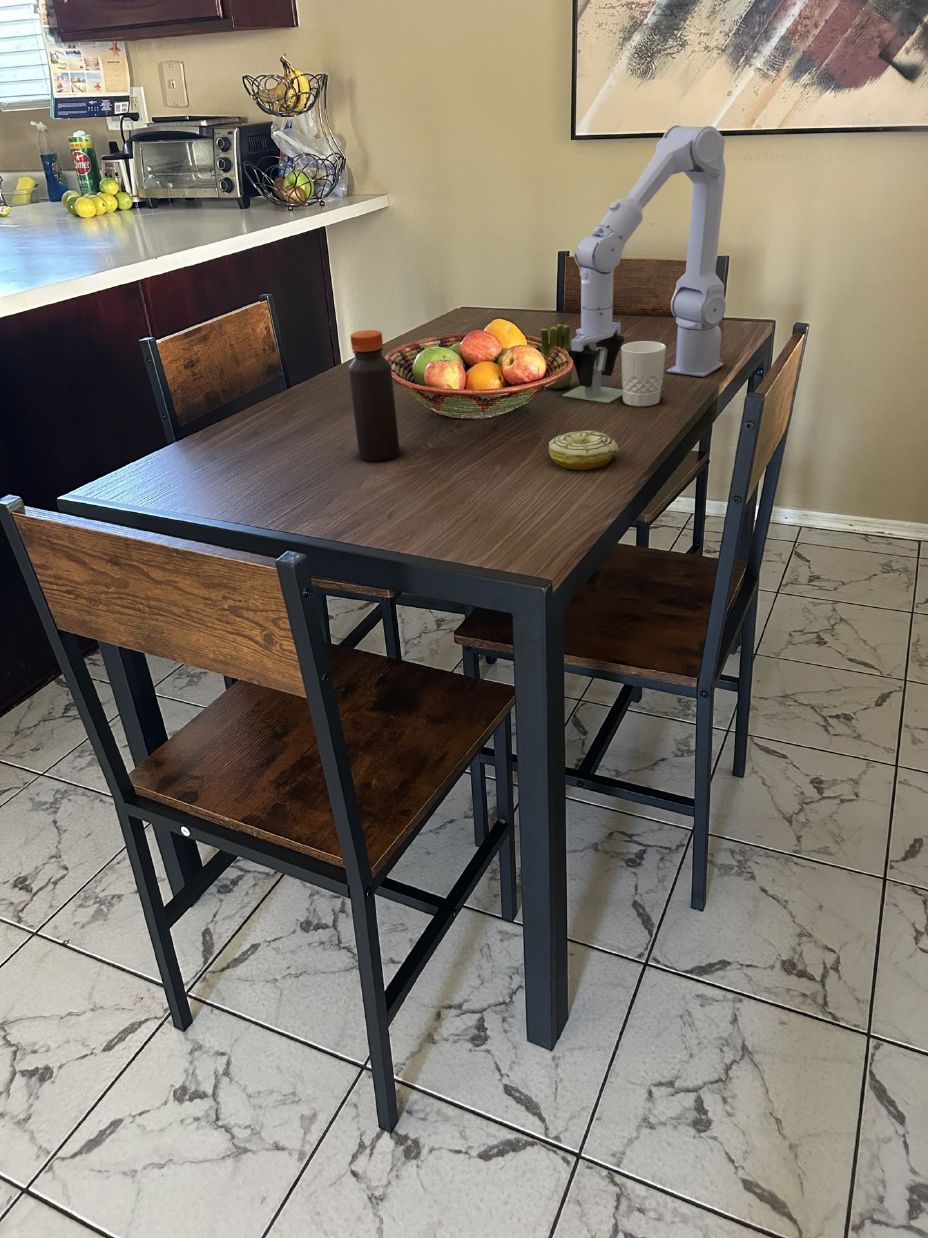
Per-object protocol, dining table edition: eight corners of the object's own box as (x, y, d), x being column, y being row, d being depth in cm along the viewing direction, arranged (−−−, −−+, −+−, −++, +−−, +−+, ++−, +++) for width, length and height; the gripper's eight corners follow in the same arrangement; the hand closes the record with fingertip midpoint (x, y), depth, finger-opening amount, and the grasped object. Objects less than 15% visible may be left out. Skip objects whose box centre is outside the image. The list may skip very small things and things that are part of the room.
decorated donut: (629, 456, 148) (630, 434, 146) (589, 478, 142) (590, 454, 140) (576, 444, 155) (577, 422, 153) (536, 463, 148) (536, 440, 146)
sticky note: (583, 384, 183) (583, 383, 183) (629, 391, 177) (629, 390, 177) (562, 395, 178) (562, 394, 177) (608, 403, 172) (608, 402, 172)
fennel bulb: (540, 391, 181) (539, 328, 175) (543, 384, 185) (542, 322, 179) (570, 391, 180) (570, 328, 174) (572, 383, 184) (572, 321, 178)
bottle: (382, 445, 160) (369, 326, 150) (408, 453, 156) (396, 331, 145) (351, 456, 156) (335, 335, 146) (376, 465, 152) (362, 341, 141)
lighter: (593, 398, 174) (593, 355, 170) (584, 397, 175) (584, 354, 171) (607, 387, 180) (608, 345, 176) (599, 386, 180) (599, 345, 176)
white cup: (661, 393, 175) (664, 340, 170) (664, 407, 168) (667, 351, 163) (618, 395, 176) (620, 341, 171) (620, 408, 169) (622, 353, 164)
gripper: (597, 296, 176) (597, 367, 183) (556, 313, 167) (557, 387, 174) (631, 299, 173) (628, 372, 179) (591, 316, 163) (590, 393, 170)
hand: (596, 380), depth 176 cm, fingers open, 7 cm apart
